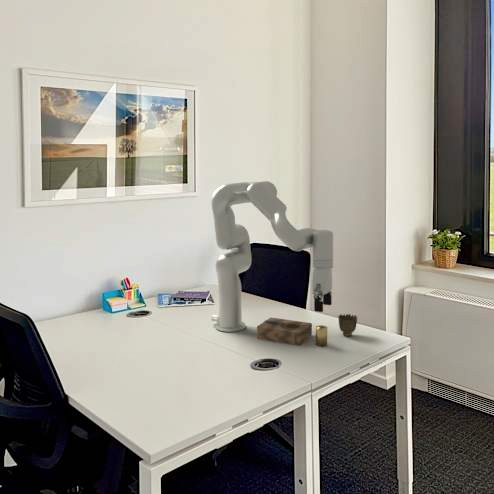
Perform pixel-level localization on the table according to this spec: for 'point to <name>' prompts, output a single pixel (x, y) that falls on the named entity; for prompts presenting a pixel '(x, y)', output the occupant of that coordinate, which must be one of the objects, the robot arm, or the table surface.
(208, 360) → the table surface
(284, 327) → the jig
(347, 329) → the cup
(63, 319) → the table surface
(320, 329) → the cylinder
